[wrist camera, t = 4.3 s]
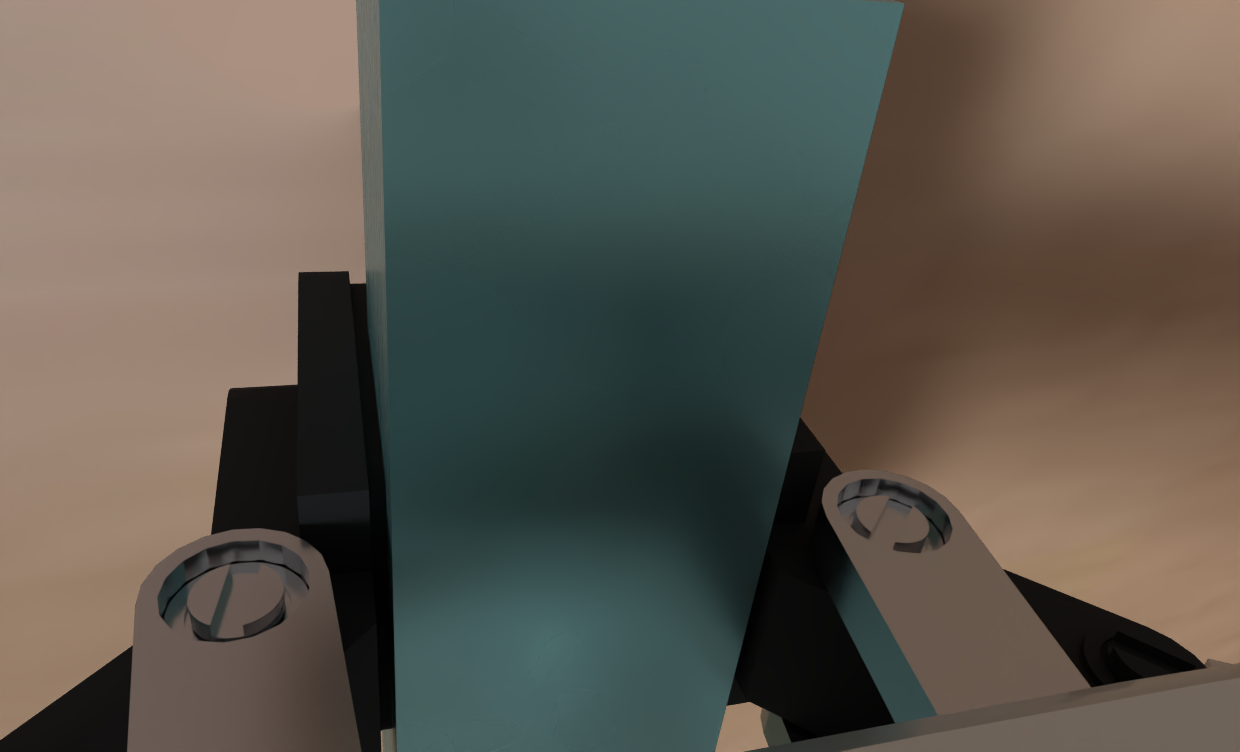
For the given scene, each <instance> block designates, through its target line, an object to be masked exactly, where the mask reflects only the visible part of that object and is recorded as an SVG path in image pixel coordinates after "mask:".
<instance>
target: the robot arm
mask: <svg viewBox="0 0 1240 752" xmlns="http://www.w3.org/2000/svg"><path fill="white" fill-rule="evenodd" d="M746 702H752V703H754V704H756V705H758V706H760V707H762V711H761V722H762V727H763V732H764V735H765V738H766V741H767V743H768V746H769V747H767V748H761V749H756V750H751V751H745V752H1240V663H1236V664H1230V663H1225V662H1221V661H1217V660H1212V659H1207V661H1206V663H1205V664H1203V663H1202V662H1201V661H1200V660H1199V659H1198V658H1197V657H1196V656H1195V655H1193V654H1192V653H1191V652H1189V651H1188V650H1186V649H1185V648H1184V647H1182V646H1181V645H1179V644H1178V643H1176V642H1175V641H1174V640H1172V639H1171V638H1168V637H1166V636H1165V635H1163V634H1160V633H1158V632H1156V631H1154V630H1152V629H1150V628H1148V627H1146V626H1144V625H1141V624H1139V623H1136V622H1134V621H1131V620H1129V619H1126V618H1124V617H1121V616H1119V615H1116V614H1114V613H1111V612H1109V611H1106V610H1104V609H1101V608H1099V607H1096V606H1094V605H1091V604H1089V603H1086V602H1084V601H1081V600H1079V599H1076V598H1074V597H1071V596H1069V595H1066V594H1064V593H1061V592H1059V591H1056V590H1054V589H1052V588H1049V587H1047V586H1044V585H1042V584H1039V583H1037V582H1034V581H1032V580H1029V579H1027V578H1024V577H1022V576H1019V575H1017V574H1014V573H1012V572H1009V571H1007V570H1004V569H1002V568H1001V566H1000V565H999V563H998V562H997V561H996V559H995V558H994V557H993V555H992V554H991V553H990V551H989V550H988V549H987V547H986V546H985V545H984V543H983V542H982V541H981V539H980V538H979V537H978V535H977V534H976V533H975V531H974V530H973V529H972V527H971V526H970V525H969V523H968V522H967V521H966V519H965V518H964V517H963V515H962V514H961V513H960V511H959V510H958V509H957V508H956V507H955V506H954V505H953V504H952V503H951V502H950V501H949V500H948V499H947V498H946V497H945V496H943V495H942V494H940V493H939V492H937V491H936V490H934V489H933V488H931V487H930V486H928V485H926V484H924V483H921V482H919V481H917V480H915V479H912V478H910V477H908V476H904V475H900V474H896V473H892V472H888V471H881V470H868V469H864V470H857V471H850V472H845V473H843V474H842V473H841V471H840V470H839V469H838V467H837V466H836V465H835V463H834V462H833V461H832V459H831V458H830V457H829V456H828V454H827V453H826V452H825V449H824V448H823V447H822V445H821V444H820V443H819V441H818V440H817V439H816V437H815V436H814V435H813V434H812V432H811V431H810V430H809V428H808V427H807V426H806V424H805V423H804V422H803V421H802V419H801V418H799V422H798V426H797V430H796V434H795V438H794V442H793V446H792V450H791V454H790V458H789V462H788V466H787V469H786V473H785V477H784V481H783V485H782V489H781V493H780V497H779V501H778V505H777V509H776V513H775V517H774V521H773V525H772V528H771V532H770V536H769V540H768V544H767V548H766V552H765V556H764V560H763V564H762V568H761V572H760V576H759V580H758V584H757V588H756V591H755V595H754V599H753V603H752V607H751V611H750V615H749V619H748V623H747V627H746V631H745V635H744V639H743V643H742V647H741V651H740V654H739V658H738V662H737V666H736V670H735V674H734V678H733V682H732V686H731V690H730V694H729V698H728V702H727V706H728V705H734V704H740V703H746ZM387 729H392V692H391V656H390V619H389V582H388V546H387V513H386V494H385V480H384V469H383V460H382V452H381V443H380V434H379V425H378V417H377V408H376V399H375V390H374V381H373V373H372V364H371V355H370V346H369V338H368V317H367V289H366V284H350V280H349V271H341V272H299V280H298V385H283V386H265V387H246V388H231V389H230V390H229V393H228V398H227V406H226V414H225V423H224V431H223V439H222V448H221V456H220V464H219V473H218V481H217V489H216V498H215V506H214V514H213V523H212V531H211V535H209V536H205V537H202V538H200V539H198V540H196V541H194V542H191V543H189V544H187V545H185V546H183V547H181V548H178V549H177V550H176V551H174V552H173V553H172V554H170V555H169V556H168V557H166V558H165V559H164V560H162V561H161V562H160V563H158V564H157V565H156V566H155V567H154V569H153V570H152V571H151V573H150V574H149V575H148V576H147V578H146V579H145V580H144V582H143V583H142V584H141V587H140V591H139V594H138V597H137V601H136V604H135V617H134V635H133V646H131V647H130V648H129V649H127V650H126V651H124V652H123V653H122V654H120V655H119V656H117V657H116V658H115V659H113V660H112V661H110V662H109V663H108V664H106V665H105V666H103V667H102V668H101V669H99V670H98V671H96V672H95V673H94V674H92V675H91V676H89V677H88V678H87V679H85V680H84V681H82V682H81V683H80V684H78V685H77V686H75V687H74V688H73V689H71V690H70V691H68V692H67V693H66V694H64V695H63V696H61V697H60V698H59V699H57V700H56V701H55V702H53V703H52V704H50V705H49V706H48V707H46V708H45V709H43V710H42V711H41V712H39V713H38V714H36V715H35V716H34V717H32V718H31V719H29V720H28V721H27V722H25V723H24V724H22V725H21V726H20V727H18V728H17V729H15V730H14V731H13V732H11V733H10V734H8V735H7V736H6V737H4V738H3V739H1V740H0V752H381V730H387Z"/></svg>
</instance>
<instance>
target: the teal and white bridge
mask: <svg viewBox="0 0 1240 752" xmlns="http://www.w3.org/2000/svg"><path fill="white" fill-rule="evenodd" d="M904 5H905V3H902V2H899V1H897V0H356V11H357V39H358V67H359V94H360V122H361V150H362V178H363V206H364V233H365V261H366V289H367V317H368V338H369V346H370V355H371V364H372V373H373V381H374V390H375V399H376V408H377V417H378V425H379V434H380V443H381V452H382V460H383V469H384V480H385V494H386V513H387V546H388V582H389V619H390V656H391V692H392V729H387V730H382V733H383V752H715V749H716V745H717V741H718V737H719V733H720V729H721V725H722V721H723V717H724V714H725V710H726V706H727V702H728V698H729V694H730V690H731V686H732V682H733V678H734V674H735V670H736V666H737V662H738V658H739V654H740V651H741V647H742V643H743V639H744V635H745V631H746V627H747V623H748V619H749V615H750V611H751V607H752V603H753V599H754V595H755V591H756V588H757V584H758V580H759V576H760V572H761V568H762V564H763V560H764V556H765V552H766V548H767V544H768V540H769V536H770V532H771V528H772V525H773V521H774V517H775V513H776V509H777V505H778V501H779V497H780V493H781V489H782V485H783V481H784V477H785V473H786V469H787V466H788V462H789V458H790V454H791V450H792V446H793V442H794V438H795V434H796V430H797V426H798V422H799V418H800V414H801V410H802V406H803V403H804V399H805V395H806V391H807V387H808V383H809V379H810V375H811V371H812V367H813V363H814V359H815V355H816V351H817V347H818V343H819V340H820V336H821V332H822V328H823V324H824V320H825V316H826V312H827V308H828V304H829V300H830V296H831V292H832V288H833V284H834V280H835V277H836V273H837V269H838V265H839V261H840V257H841V253H842V249H843V245H844V241H845V237H846V233H847V229H848V225H849V221H850V217H851V214H852V210H853V206H854V202H855V198H856V194H857V190H858V186H859V182H860V178H861V174H862V170H863V166H864V162H865V158H866V154H867V151H868V147H869V143H870V139H871V135H872V131H873V127H874V123H875V119H876V115H877V111H878V107H879V103H880V99H881V95H882V91H883V88H884V84H885V80H886V76H887V72H888V68H889V64H890V60H891V56H892V52H893V48H894V44H895V40H896V36H897V32H898V28H899V25H900V21H901V17H902V13H903V9H904Z"/></svg>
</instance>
